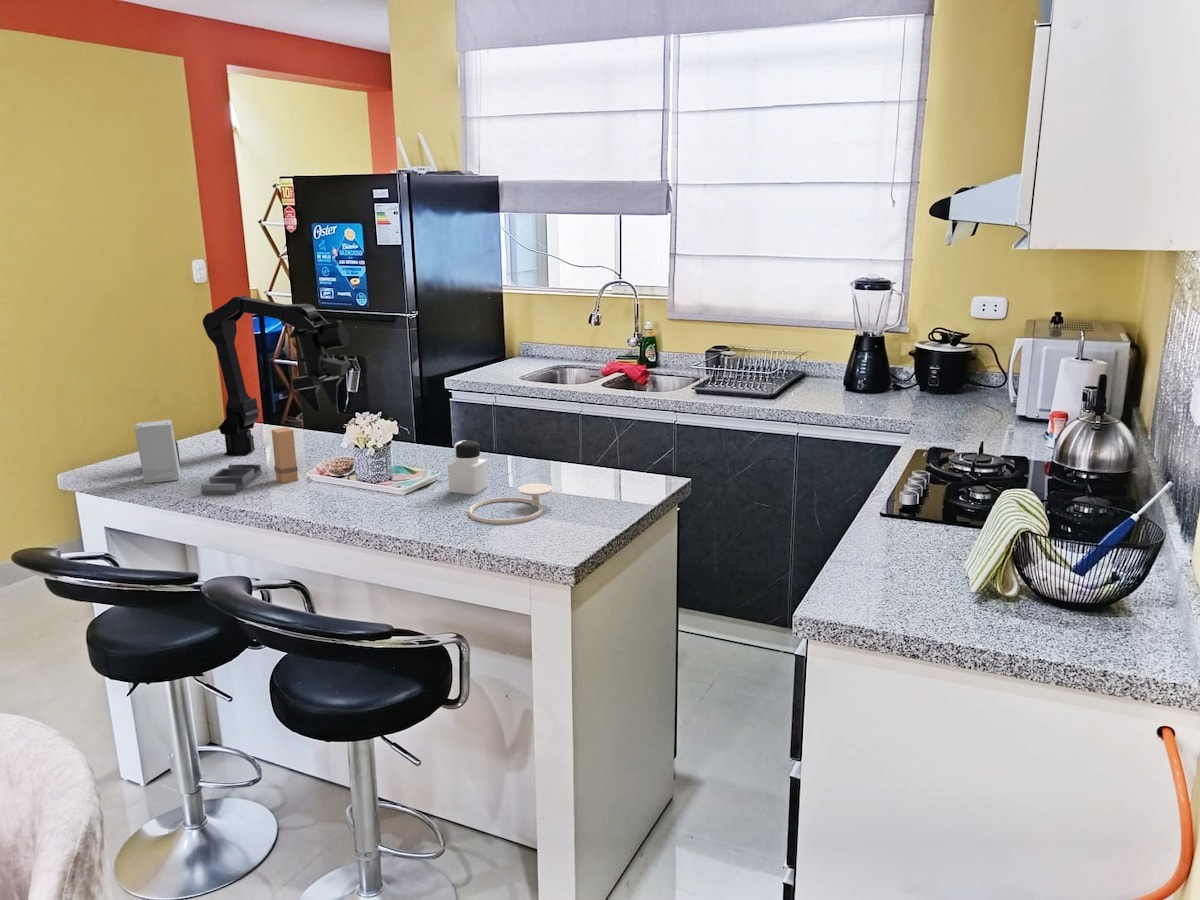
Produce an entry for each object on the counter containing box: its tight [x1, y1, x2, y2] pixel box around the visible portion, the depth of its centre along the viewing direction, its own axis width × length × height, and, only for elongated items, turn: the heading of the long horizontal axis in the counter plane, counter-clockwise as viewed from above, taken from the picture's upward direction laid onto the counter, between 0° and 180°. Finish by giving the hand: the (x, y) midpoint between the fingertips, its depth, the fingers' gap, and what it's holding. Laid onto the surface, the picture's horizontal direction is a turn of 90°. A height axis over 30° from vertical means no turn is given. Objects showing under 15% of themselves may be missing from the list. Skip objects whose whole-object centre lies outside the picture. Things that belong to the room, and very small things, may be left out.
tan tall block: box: [271, 427, 299, 484], centre depth 228 cm, size 4×4×13 cm
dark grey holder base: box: [200, 464, 263, 495], centre depth 227 cm, size 8×18×3 cm, turn 0°
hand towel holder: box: [467, 483, 554, 525], centre depth 206 cm, size 17×4×21 cm
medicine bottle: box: [447, 439, 489, 496], centre depth 220 cm, size 7×7×12 cm
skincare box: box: [134, 419, 181, 484], centre depth 229 cm, size 8×6×15 cm
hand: (326, 408), depth 247 cm, fingers open, 9 cm apart
